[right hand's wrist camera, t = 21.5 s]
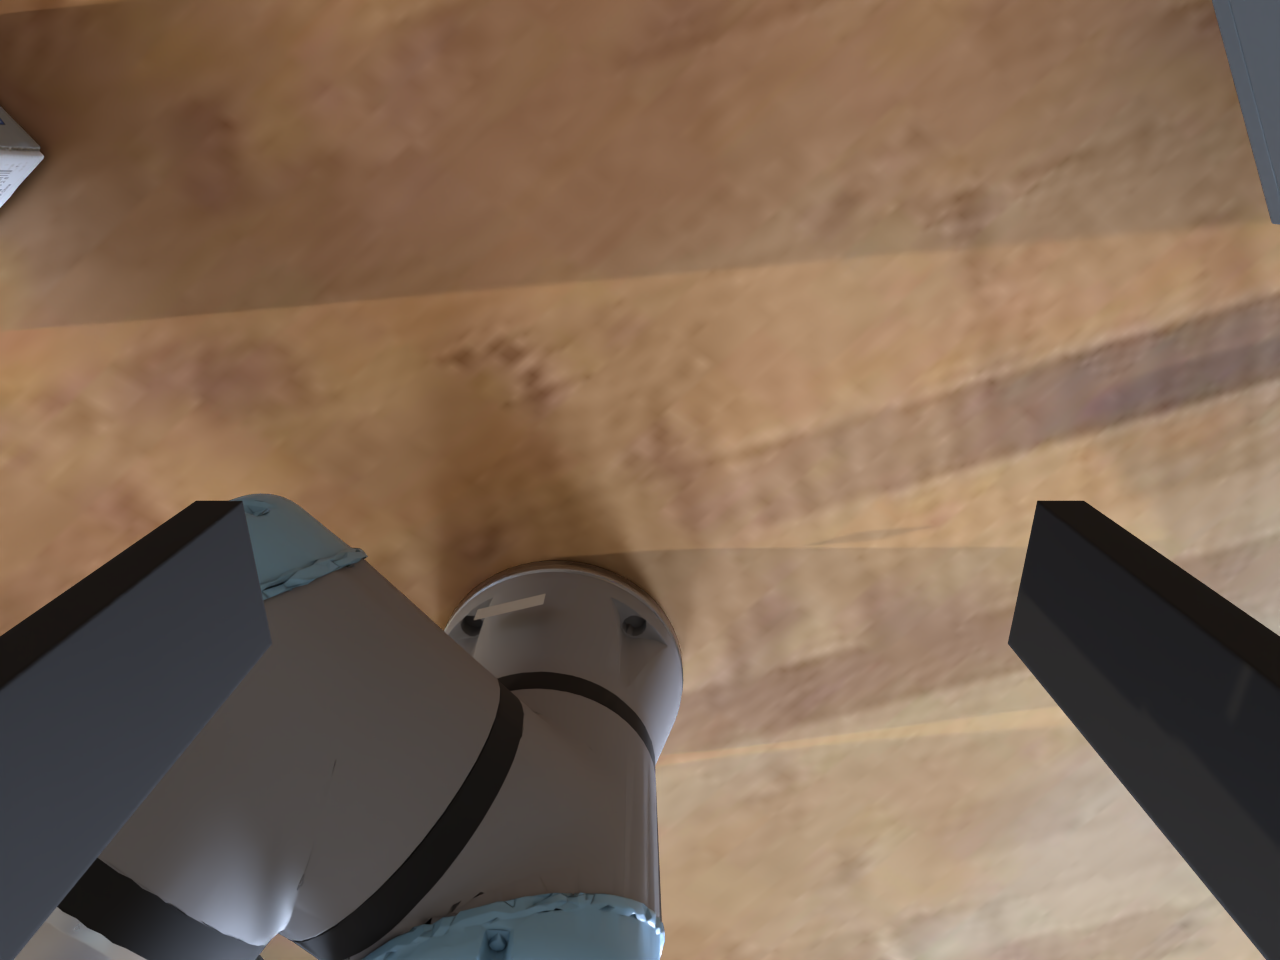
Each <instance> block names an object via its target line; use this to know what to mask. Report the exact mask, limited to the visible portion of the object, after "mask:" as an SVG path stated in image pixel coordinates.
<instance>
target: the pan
mask: <svg viewBox="0 0 1280 960" xmlns="http://www.w3.org/2000/svg"><path fill="white" fill-rule="evenodd" d="M1212 2H1213V6H1214V10H1215V13H1216V17H1217V21H1218V25H1219V28H1220V32H1221V36H1222V39H1223V43H1224V47H1225V51H1226V54H1227V58H1228V62H1229V66H1230V69H1231V73H1232V77H1233V80H1234V84H1235V88H1236V92H1237V95H1238V99H1239V103H1240V106H1241V110H1242V114H1243V118H1244V121H1245V125H1246V129H1247V133H1248V136H1249V140H1250V144H1251V147H1252V151H1253V155H1254V159H1255V162H1256V166H1257V170H1258V173H1259V177H1260V181H1261V185H1262V188H1263V192H1264V196H1265V200H1266V203H1267V207H1268V211H1269V214H1270V218H1271V222H1272V223H1273V224H1280V0H1212Z"/></svg>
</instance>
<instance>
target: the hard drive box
mask: <svg viewBox="0 0 1280 960" xmlns="http://www.w3.org/2000/svg"><path fill="white" fill-rule="evenodd" d="M43 158H44V156H43V154H42V153H41V152H40V146H39V145H38V144H37V143H36V142H35V141H34V140H33V139H32V138H31V137H30V136H29V135H28V134H27V132H26V131H25V130H24V129H23V128H22V127H21V126H20V125H19V124H18V123H17V122H16V121H15V120H14V119H13V118H12V117H11V116H10V115H9V114H8V113H7V112H6V111H5V110H4V109H3V108H2V107H1V106H0V207H1V206H2V205H3V204H4V203H5V202H6V201H7V200H8V199H9V198H10V197H11V195H12V194H13V193H14V191H15V190H16V189H17V187H18V186H19V185H20V184H21V183H22V182H23V181H24V180H25V178H26V177H27V176H28V175H29V174H30V173H31V172H32V171H33V170H34V169H35V168H36V166H37V165H38V164H39V163H40V162H41V161H42V160H43Z"/></svg>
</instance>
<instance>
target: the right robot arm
mask: <svg viewBox="0 0 1280 960" xmlns="http://www.w3.org/2000/svg"><path fill="white" fill-rule="evenodd" d="M366 557H368V556H367V555H366V554H365V552H364V551H363V550H361V549H360V548H351V547H350V546H348V545H347V544H346V543H345V542H343V541H342V540H341V539H340V538H338V537H337V536H336V535H335V534H333V533H332V532H331V531H330V530H328V529H327V528H326V527H325V526H323V525H322V524H321V523H320V522H318V521H317V520H316V519H315V518H314V517H312V516H311V515H310V514H309V513H307V512H306V511H305V510H304V509H303V508H301V507H300V506H299V505H297V504H296V503H294V502H292V501H291V500H289V499H286V498H284V497H281V496H277V495H272V494H251V495H246V496H241V497H238V498H235V499H232V500H230V501H195V502H194V503H192V504H191V505H189V506H188V507H187V508H185V509H184V510H182V511H181V512H179V513H178V514H176V515H175V516H174V517H172V518H171V519H169V520H168V521H166V522H165V523H163V524H162V525H161V526H159V527H158V528H156V529H155V530H153V531H152V532H150V533H149V534H148V535H146V536H145V537H143V538H142V539H140V540H139V541H137V542H136V543H135V544H133V545H132V546H130V547H129V548H127V549H126V550H124V551H123V552H122V553H120V554H119V555H117V556H116V557H114V558H113V559H112V560H110V561H109V562H107V563H106V564H104V565H103V566H101V567H100V568H99V569H97V570H96V571H94V572H93V573H91V574H90V575H88V576H87V577H86V578H84V579H83V580H81V581H80V582H78V583H77V584H75V585H74V586H73V587H71V588H70V589H68V590H67V591H65V592H64V593H62V594H61V595H60V596H58V597H57V598H55V599H54V600H52V601H51V602H49V603H48V604H47V605H45V606H44V607H42V608H41V609H39V610H38V611H36V612H35V613H34V614H32V615H31V616H29V617H28V618H26V619H25V620H23V621H22V622H21V623H19V624H18V625H16V626H15V627H13V628H12V629H10V630H9V631H8V632H6V633H5V634H3V635H2V636H0V960H255V959H256V958H257V957H258V956H259V954H260V953H261V952H262V950H263V949H264V948H265V946H266V945H267V944H268V943H269V941H270V940H271V939H272V938H273V937H274V936H275V935H276V934H278V933H279V934H280V935H282V936H284V937H286V938H288V939H289V940H291V941H293V942H294V943H296V944H297V945H298V946H300V947H301V948H303V949H304V950H306V951H307V952H309V953H310V954H312V955H313V956H314V957H316V958H317V959H318V960H660V956H661V953H662V948H663V945H664V943H665V933H664V926H663V923H662V917H661V894H660V870H659V846H658V823H657V799H656V778H655V765H656V762H657V760H658V758H659V756H660V753H661V751H662V749H663V747H664V744H665V742H666V740H667V738H668V735H669V733H670V731H671V728H672V726H673V724H674V722H675V719H676V716H677V714H678V710H679V706H680V701H681V695H682V688H683V668H682V657H681V651H680V646H679V643H678V639H677V636H676V634H675V631H674V629H673V627H672V625H671V623H670V621H669V619H668V618H667V616H666V615H665V613H664V612H663V610H662V609H661V608H660V607H659V606H658V604H657V603H656V602H655V601H654V600H653V599H652V598H651V597H650V596H649V595H648V594H647V593H646V592H644V591H643V590H642V589H641V588H639V587H638V586H637V585H635V584H634V583H632V582H630V581H629V580H627V579H625V578H624V577H622V576H620V575H618V574H616V573H613V572H611V571H609V570H606V569H603V568H600V567H597V566H594V565H589V564H585V563H580V562H572V561H557V560H555V561H540V562H533V563H528V564H523V565H519V566H516V567H513V568H510V569H507V570H505V571H502V572H500V573H498V574H496V575H494V576H492V577H490V578H488V579H487V580H485V581H484V582H482V583H481V584H479V585H478V586H477V587H475V588H474V589H473V590H472V591H471V592H470V593H469V594H468V595H467V596H466V597H465V598H464V599H463V600H462V601H461V602H460V604H459V605H458V606H457V608H456V609H455V610H454V612H453V614H452V615H451V617H450V619H449V621H448V623H447V625H446V628H445V630H444V631H443V630H442V629H441V628H440V627H439V626H438V625H437V624H435V623H434V622H433V621H432V620H431V619H430V618H429V617H428V616H427V615H425V614H424V613H423V612H422V611H421V610H420V609H419V608H418V607H417V606H415V605H414V604H413V603H412V602H411V601H410V600H409V599H408V598H407V597H406V596H404V595H403V594H402V593H401V592H400V591H399V590H398V589H397V588H396V587H394V586H393V585H392V584H391V583H390V582H389V581H388V580H387V579H386V578H384V577H383V576H382V575H381V574H380V573H379V572H378V571H377V570H376V569H374V568H373V567H372V566H371V565H370V564H369V563H368V562H367V561H366V560H364V559H365V558H366ZM1008 644H1009V646H1010V647H1011V648H1012V649H1013V650H1014V652H1015V653H1016V654H1017V655H1018V657H1019V658H1020V659H1021V660H1022V661H1023V663H1024V664H1025V665H1026V666H1027V668H1028V669H1029V670H1030V671H1031V672H1032V674H1033V675H1034V676H1035V677H1036V679H1037V680H1038V681H1039V682H1040V683H1041V685H1042V686H1043V687H1044V688H1045V690H1046V691H1047V692H1048V693H1049V694H1050V696H1051V697H1052V698H1053V699H1054V701H1055V702H1056V703H1057V704H1058V705H1059V707H1060V708H1061V709H1062V710H1063V712H1064V713H1065V714H1066V715H1067V717H1068V718H1069V719H1070V720H1071V721H1072V723H1073V724H1074V725H1075V726H1076V728H1077V729H1078V730H1079V731H1080V732H1081V734H1082V735H1083V736H1084V737H1085V739H1086V740H1087V741H1088V742H1089V743H1090V745H1091V746H1092V747H1093V748H1094V750H1095V751H1096V752H1097V753H1098V754H1099V756H1100V757H1101V758H1102V759H1103V761H1104V762H1105V763H1106V764H1107V765H1108V767H1109V768H1110V769H1111V770H1112V772H1113V773H1114V774H1115V775H1116V776H1117V778H1118V779H1119V780H1120V781H1121V783H1122V784H1123V785H1124V786H1125V787H1126V789H1127V790H1128V791H1129V792H1130V794H1131V795H1132V796H1133V797H1134V798H1135V800H1136V801H1137V802H1138V803H1139V805H1140V806H1141V807H1142V808H1143V809H1144V811H1145V812H1146V813H1147V814H1148V816H1149V817H1150V818H1151V819H1152V821H1153V822H1154V823H1155V824H1156V825H1157V827H1158V828H1159V829H1160V830H1161V832H1162V833H1163V834H1164V835H1165V836H1166V838H1167V839H1168V840H1169V841H1170V843H1171V844H1172V845H1173V846H1174V847H1175V849H1176V850H1177V851H1178V852H1179V854H1180V855H1181V856H1182V857H1183V858H1184V860H1185V861H1186V862H1187V863H1188V865H1189V866H1190V867H1191V868H1192V869H1193V871H1194V872H1195V873H1196V874H1197V876H1198V877H1199V878H1200V879H1201V880H1202V882H1203V883H1204V884H1205V885H1206V887H1207V888H1208V889H1209V890H1210V891H1211V893H1212V894H1213V895H1214V896H1215V898H1216V899H1217V900H1218V901H1219V902H1220V904H1221V905H1222V906H1223V907H1224V909H1225V910H1226V911H1227V912H1228V913H1229V915H1230V916H1231V917H1232V918H1233V920H1234V921H1235V922H1236V923H1237V924H1238V926H1239V927H1240V928H1241V929H1242V931H1243V932H1244V933H1245V934H1246V936H1247V937H1248V938H1249V939H1250V940H1251V942H1252V943H1253V944H1254V945H1255V947H1256V948H1257V949H1258V950H1259V951H1260V953H1261V954H1262V955H1263V956H1264V958H1265V959H1266V960H1280V636H1278V635H1277V634H1275V633H1274V632H1272V631H1271V630H1270V629H1268V628H1267V627H1265V626H1264V625H1262V624H1261V623H1259V622H1258V621H1257V620H1255V619H1254V618H1252V617H1251V616H1249V615H1248V614H1246V613H1245V612H1244V611H1242V610H1241V609H1239V608H1238V607H1236V606H1235V605H1233V604H1232V603H1231V602H1229V601H1228V600H1226V599H1225V598H1223V597H1222V596H1220V595H1219V594H1218V593H1216V592H1215V591H1213V590H1212V589H1210V588H1209V587H1207V586H1206V585H1205V584H1203V583H1202V582H1200V581H1199V580H1197V579H1196V578H1194V577H1193V576H1192V575H1190V574H1189V573H1187V572H1186V571H1184V570H1183V569H1181V568H1180V567H1179V566H1177V565H1176V564H1174V563H1173V562H1171V561H1170V560H1168V559H1167V558H1166V557H1164V556H1163V555H1161V554H1160V553H1158V552H1157V551H1156V550H1154V549H1153V548H1151V547H1150V546H1148V545H1147V544H1145V543H1144V542H1143V541H1141V540H1140V539H1138V538H1137V537H1135V536H1134V535H1132V534H1131V533H1130V532H1128V531H1127V530H1125V529H1124V528H1122V527H1121V526H1119V525H1118V524H1117V523H1115V522H1114V521H1112V520H1111V519H1109V518H1108V517H1106V516H1105V515H1104V514H1102V513H1101V512H1099V511H1098V510H1096V509H1095V508H1093V507H1092V506H1091V505H1089V504H1088V503H1086V502H1085V501H1037V505H1036V510H1035V515H1034V520H1033V525H1032V530H1031V534H1030V539H1029V544H1028V549H1027V554H1026V559H1025V563H1024V568H1023V573H1022V578H1021V583H1020V588H1019V592H1018V597H1017V602H1016V607H1015V612H1014V617H1013V621H1012V626H1011V631H1010V636H1009V641H1008Z"/></svg>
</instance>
